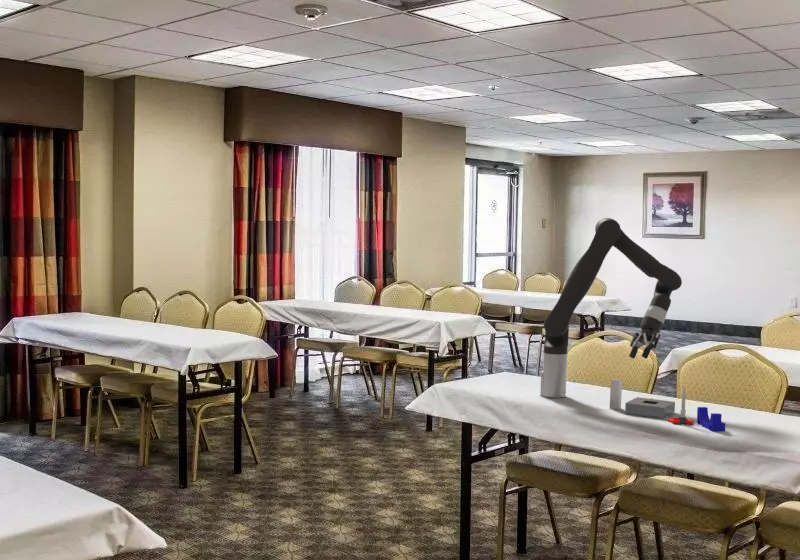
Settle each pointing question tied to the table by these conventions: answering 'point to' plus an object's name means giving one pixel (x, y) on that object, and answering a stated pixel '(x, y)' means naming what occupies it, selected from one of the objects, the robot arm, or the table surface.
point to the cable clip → (710, 420)
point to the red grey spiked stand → (681, 414)
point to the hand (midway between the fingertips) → (637, 357)
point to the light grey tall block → (615, 394)
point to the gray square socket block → (650, 407)
